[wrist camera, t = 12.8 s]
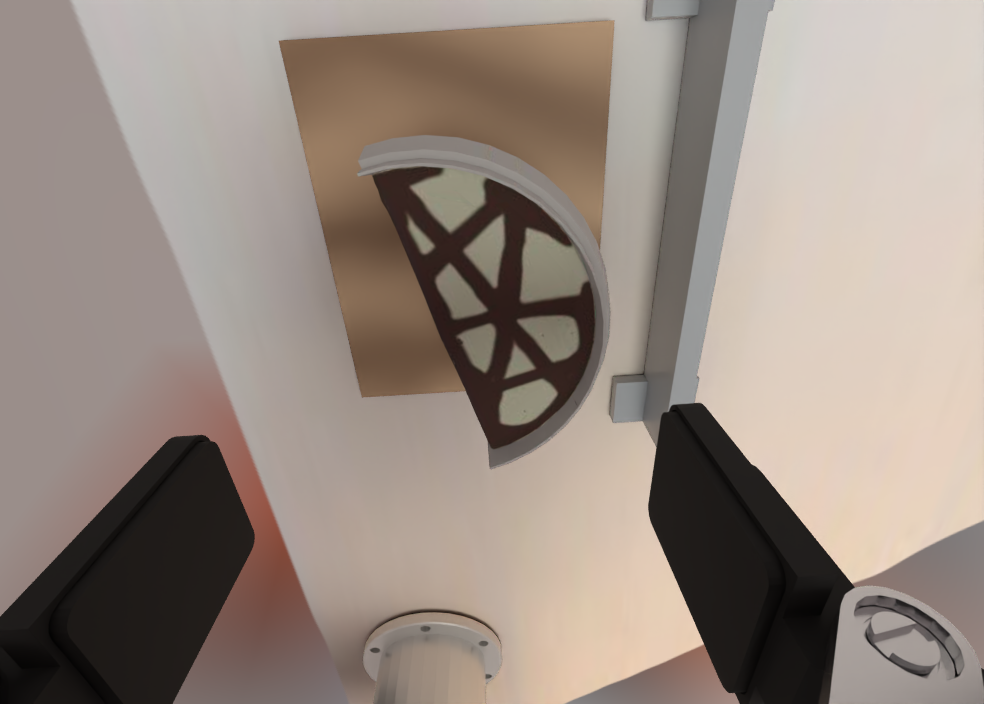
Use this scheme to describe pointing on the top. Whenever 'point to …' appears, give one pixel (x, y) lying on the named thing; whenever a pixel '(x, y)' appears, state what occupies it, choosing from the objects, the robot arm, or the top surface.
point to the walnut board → (438, 112)
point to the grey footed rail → (695, 198)
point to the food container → (500, 280)
